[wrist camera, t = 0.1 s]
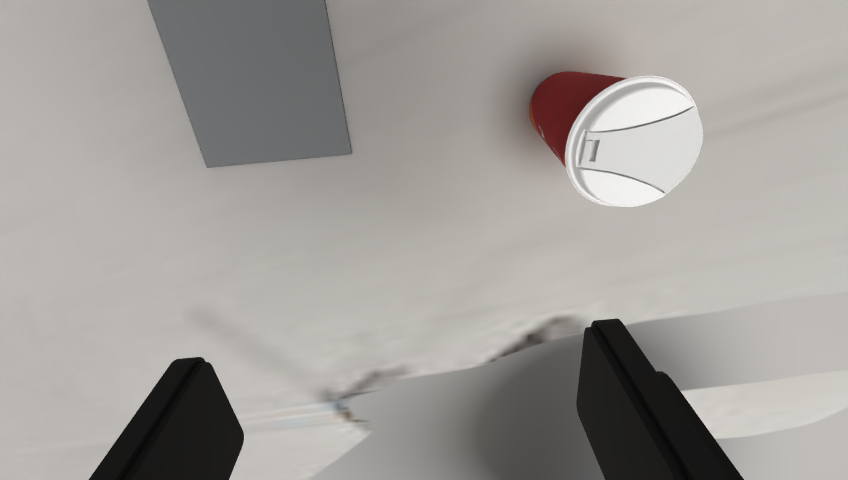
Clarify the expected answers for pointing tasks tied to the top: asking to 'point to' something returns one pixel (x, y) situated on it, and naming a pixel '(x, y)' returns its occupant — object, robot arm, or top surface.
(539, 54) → the top surface
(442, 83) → the top surface
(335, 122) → the mat
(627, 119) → the coffee cup
